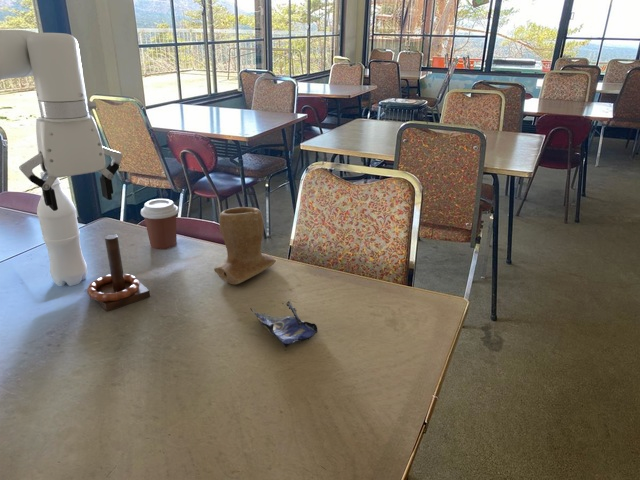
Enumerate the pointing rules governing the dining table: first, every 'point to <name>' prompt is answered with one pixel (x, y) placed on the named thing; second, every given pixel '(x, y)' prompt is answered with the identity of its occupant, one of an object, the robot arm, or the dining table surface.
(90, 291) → the hanging ring
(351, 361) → the dining table surface
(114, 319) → the dining table surface
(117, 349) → the dining table surface
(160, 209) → the coffee cup
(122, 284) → the ring toss peg
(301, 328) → the snack package
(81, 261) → the water bottle
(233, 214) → the stone cup
